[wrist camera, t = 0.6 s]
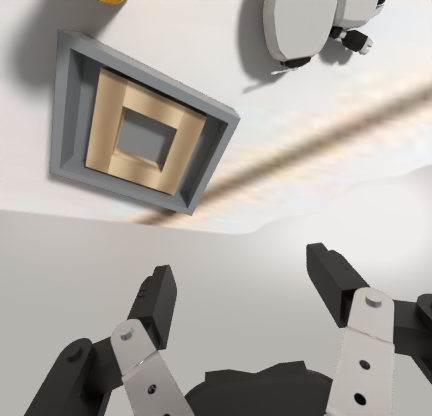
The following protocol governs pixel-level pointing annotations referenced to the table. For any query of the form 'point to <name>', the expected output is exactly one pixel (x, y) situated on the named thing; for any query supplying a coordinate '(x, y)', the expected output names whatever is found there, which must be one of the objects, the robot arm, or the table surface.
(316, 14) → the robot toy
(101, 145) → the plate
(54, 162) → the open-top box
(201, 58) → the table surface
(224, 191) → the table surface
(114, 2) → the beer can
